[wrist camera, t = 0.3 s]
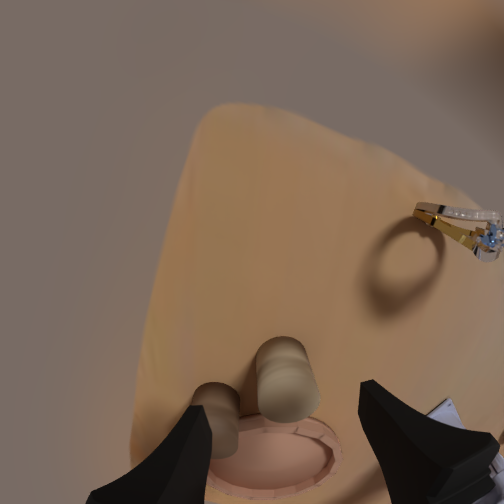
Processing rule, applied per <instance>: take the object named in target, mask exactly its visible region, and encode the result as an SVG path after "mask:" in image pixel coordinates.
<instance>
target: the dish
mask: <svg viewBox="0 0 504 504" xmlns="http://www.w3.org/2000/svg"><path fill="white" fill-rule="evenodd" d="M342 460H343V457H342V452H341V447H340V443H339V440H338V437H337V436H336V434H335V433H334V431H333V430H332V429H331V428H330V427H329V426H328V425H326V424H325V423H324V422H322V421H320V420H318V419H315V418H312V417H309V416H308V417H307V418H305V419H303V420H300V421H297V422H293V423H277V422H273V421H270V420H268V419H267V418H265V417H264V416H263V415H262V414H261V413H259V414H253V415H247V416H243V417H239V436H238V449H237V451H236V453H235V454H233V455H232V456H230V457H228V458H224V459H210V465H209V471H208V476H207V484H208V485H209V486H211V487H213V488H215V489H217V490H219V491H221V492H223V493H225V494H227V495H231V496H236V497H240V498H245V499H250V500H275V499H281V498H286V497H291V496H296V495H300V494H302V493H305V492H307V491H309V490H312V489H314V488H316V487H319V486H320V485H322V484H323V483H324V482H326V481H327V480H328V479H329V478H331V477H332V476H333V475H334V474H336V472H337V470H338V468H339V466H340V464H341V462H342Z"/></svg>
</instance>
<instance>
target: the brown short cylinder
mask: <svg viewBox="0 0 504 504" xmlns="http://www.w3.org/2000/svg"><path fill="white" fill-rule="evenodd" d="M192 405H203V407H204V410H205V413H206V416H207V419H208V422H209V425H210V428H211V430H212V454H211V459H224V458H228V457H230V456H232V455H233V454H235V453H236V451H237V449H238V436H239V407H240V398H239V395H238V393H237V392H236V390H234V389H233V388H232V387H230V386H229V385H226V384H224V383H219V382H209V383H205V384H203V385H201V386H199V387H198V388H197V389H196V391H195V393H194V397H193V401H192Z"/></svg>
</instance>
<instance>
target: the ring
mask: <svg viewBox="0 0 504 504" xmlns="http://www.w3.org/2000/svg"><path fill="white" fill-rule="evenodd" d="M432 214H433V215H432ZM412 215H413V216H414V217H416V218H417V219H419V220H421V221H423V222H424V223H425V224H426V225H428V226H430V227H432V228H435V229H437V230H440V231H442V232H443V233H445V234H446V235H448V236H450V237H451V238H453V239H454V240H456V241H458V242H459V243H461V244H462V245H464V246H465V247H467V248H468V249H470V250H472V251H473V252H474V254H475V256H476V257H477V258H478V259H479V260H481V261H483V262H491V261H494V260H496V259H497V258H498V257H499V254H500V252H502V247H504V234H502V232H503V233H504V228H503V224H502V223H503V222H502V216H501V213H500V212H498V211H494V210H493V211H492V210H473V209H464V208H457V207H451V206H445V205H439V204H434V203H428V202H418V203H417V204H416V207H415V209H414V211H413V214H412ZM436 215H437V216H436ZM438 216H441V217H446V218H450V219H456V220H463V221H476V222H487V225H486V229H482V228H479V227H476V228H475V231H470V230H466V229H463V228H459V227H456V226H454V225H451V224H449V223H447V222H444V221H442V220H441V218H439V217H438ZM481 248H482V249H481Z"/></svg>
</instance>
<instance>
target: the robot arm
mask: <svg viewBox="0 0 504 504" xmlns="http://www.w3.org/2000/svg"><path fill="white" fill-rule="evenodd" d="M358 415H359V418H360V421H361V425H362V428H363V430H364V432H365V435H366V437H367V439H368V441H369V443H370V445H371V447H372V449H373V451H374V453H375V455H376V457H377V459H378V462H379V464H380V466H381V469H382V471H383V475H384V478H385V481H386V484H387V488H388V491H389V495H390V499H391V503H392V504H504V458H503V457H502V456H501V454H500V453H499V449H500V444H499V443H498V442H497V440H496V439H495V438H494V437H493V436H492V434H490V433H488V432H479V431H471V430H466V428H465V427H464V426H463V425H462V423H461V420H460V418H459V416H458V414H457V411H456V409H455V407H454V405H453V402H452V400H451V399H450V398H449V399H447V400H445V401H444V402H443V403H442V404H441V405H439V406H438V407H437V408H436V409H435V410H433V411H432V412H431V413H430V414H428V415H427V416H426V415H424V414H422V413H420V412H418V411H416V410H415V409H413V408H411V407H410V406H408V405H407V404H405V403H404V402H402V401H401V400H399V399H398V398H397V397H395V396H394V395H392V394H391V393H390V392H388V391H387V390H386V389H385V388H383V387H382V386H381V385H380V384H378V383H377V382H376V381H374V380H373V379H372V380H368V381H365V382H361V384H360V395H359V406H358ZM211 454H212V430H211V428H210V425H209V422H208V419H207V416H206V413H205V410H204V407H203V405H190V406H189V407H188V408H187V410H186V411H185V413H184V414H183V416H182V417H181V418H180V420H179V421H178V423H177V424H176V425H175V427H174V428H173V429H172V431H171V432H170V433H169V434H168V436H167V437H166V438H165V439H164V440H163V442H162V443H161V444H160V445H159V446H158V447H157V448H156V449H155V450H154V451H153V452H152V453H151V454H150V455H149V456H148V457H147V458H146V459H145V460H144V461H143V462H141V463H140V464H139V465H138V466H136V467H135V468H134V469H132V470H131V471H130V472H128V473H127V474H125V475H123V476H122V477H120V478H118V479H117V480H115V481H113V482H111V483H109V484H107V485H105V486H103V487H100V488H98V489H96V490H93V491H92V492H91V493H90V495H89V497H88V499H87V501H86V504H204V496H205V487H206V482H207V476H208V471H209V465H210V459H211Z"/></svg>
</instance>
